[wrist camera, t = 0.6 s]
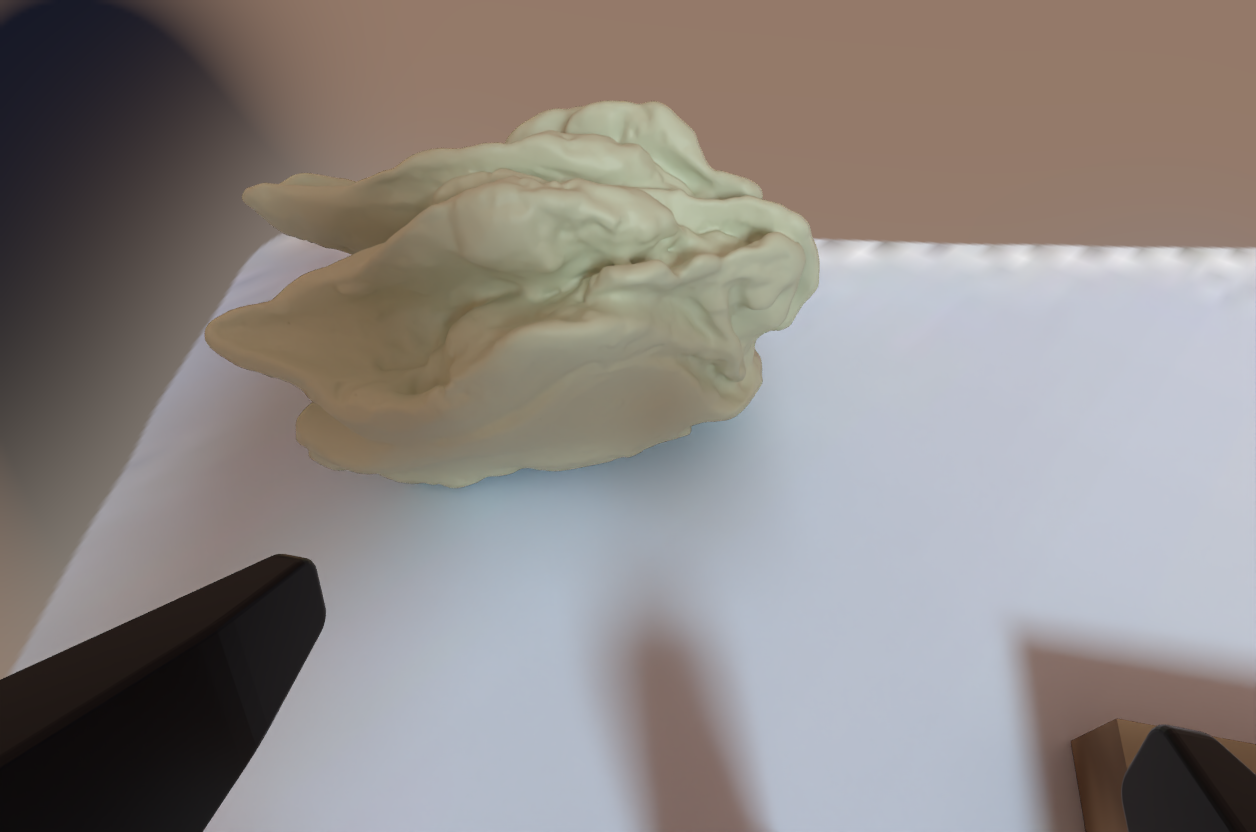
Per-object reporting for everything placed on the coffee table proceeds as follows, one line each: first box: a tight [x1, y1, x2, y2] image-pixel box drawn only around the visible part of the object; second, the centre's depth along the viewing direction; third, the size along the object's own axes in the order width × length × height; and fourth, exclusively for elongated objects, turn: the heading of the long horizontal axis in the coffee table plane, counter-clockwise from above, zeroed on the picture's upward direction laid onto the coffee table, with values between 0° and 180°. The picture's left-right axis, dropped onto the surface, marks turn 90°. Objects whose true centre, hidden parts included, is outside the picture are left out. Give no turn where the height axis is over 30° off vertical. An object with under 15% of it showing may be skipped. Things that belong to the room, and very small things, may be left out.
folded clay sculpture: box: [205, 101, 819, 488], centre depth 25 cm, size 18×13×16 cm
